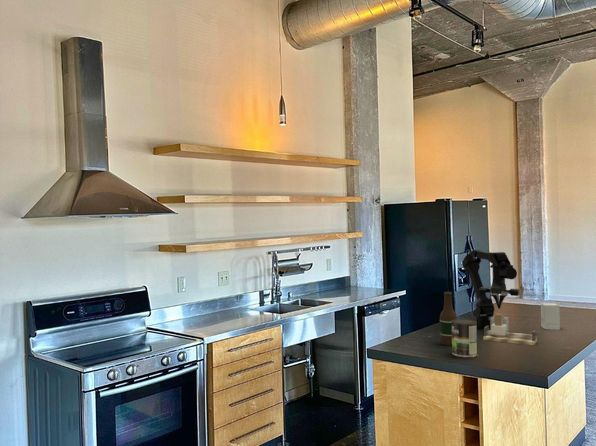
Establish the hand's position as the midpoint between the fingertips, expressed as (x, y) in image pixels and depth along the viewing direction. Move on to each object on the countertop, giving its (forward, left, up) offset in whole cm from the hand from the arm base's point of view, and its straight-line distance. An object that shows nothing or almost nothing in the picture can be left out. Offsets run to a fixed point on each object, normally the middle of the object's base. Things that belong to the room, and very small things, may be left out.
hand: (499, 308), depth 253 cm
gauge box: (0, 0, -13) cm, 13 cm away
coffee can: (-5, -48, -13) cm, 49 cm away
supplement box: (+20, +25, -13) cm, 35 cm away
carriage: (+2, -13, -10) cm, 16 cm away
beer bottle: (-16, -33, -13) cm, 38 cm away
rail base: (+7, -13, -13) cm, 19 cm away
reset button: (0, 0, -6) cm, 6 cm away
